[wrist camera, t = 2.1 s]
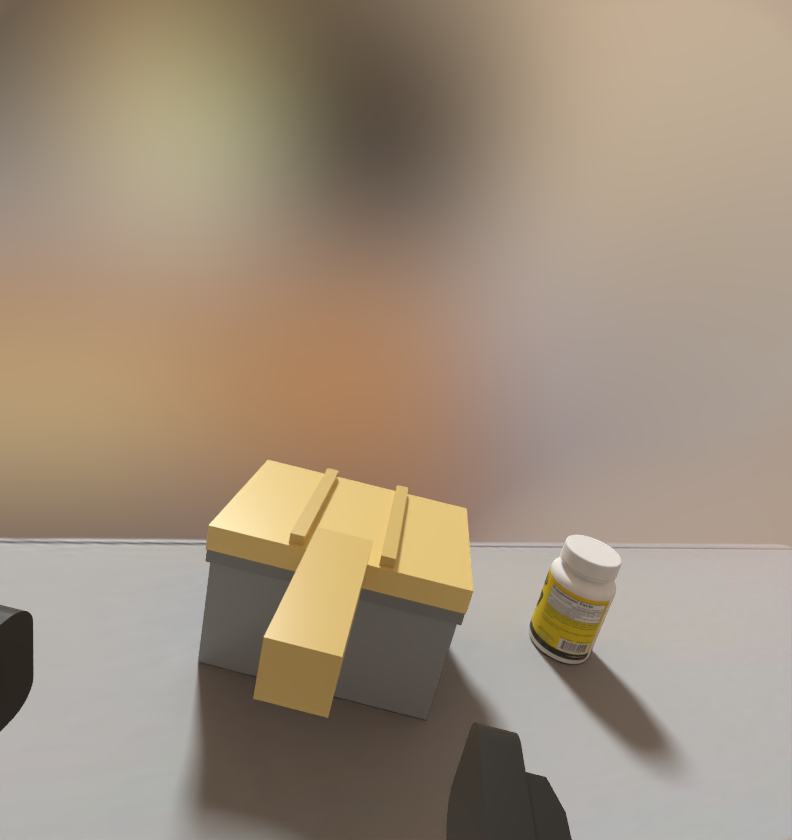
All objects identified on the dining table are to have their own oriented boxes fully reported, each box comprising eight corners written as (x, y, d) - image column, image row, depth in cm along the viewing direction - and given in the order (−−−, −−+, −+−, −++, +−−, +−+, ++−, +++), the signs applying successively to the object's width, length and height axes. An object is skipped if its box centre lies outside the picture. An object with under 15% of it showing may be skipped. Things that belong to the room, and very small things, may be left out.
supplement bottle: (547, 613, 43) (580, 526, 40) (599, 651, 40) (639, 559, 37) (515, 633, 39) (549, 539, 37) (569, 676, 36) (610, 577, 34)
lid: (110, 662, 20) (114, 599, 19) (265, 478, 37) (270, 440, 36) (473, 755, 20) (495, 695, 19) (461, 526, 36) (472, 489, 36)
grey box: (193, 663, 30) (207, 548, 28) (251, 571, 39) (265, 479, 37) (429, 723, 30) (464, 613, 27) (433, 617, 39) (460, 527, 36)
